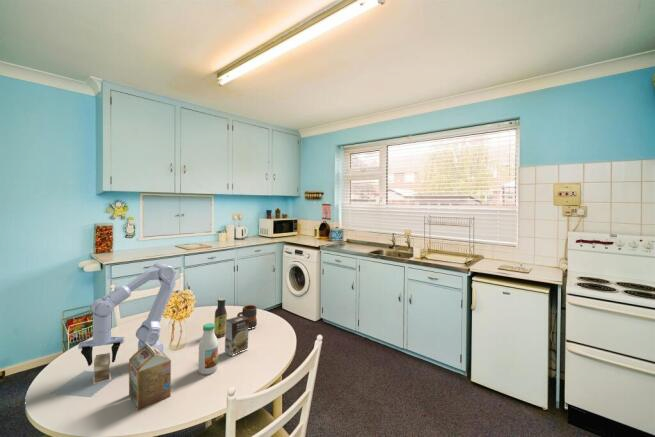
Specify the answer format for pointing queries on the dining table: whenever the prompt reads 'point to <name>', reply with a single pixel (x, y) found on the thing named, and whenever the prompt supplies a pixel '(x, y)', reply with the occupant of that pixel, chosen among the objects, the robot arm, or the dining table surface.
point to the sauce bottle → (220, 318)
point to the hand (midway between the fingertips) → (102, 362)
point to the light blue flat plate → (83, 385)
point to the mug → (250, 314)
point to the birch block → (101, 362)
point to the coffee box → (236, 334)
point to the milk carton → (149, 377)
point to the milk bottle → (208, 350)
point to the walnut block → (101, 375)
